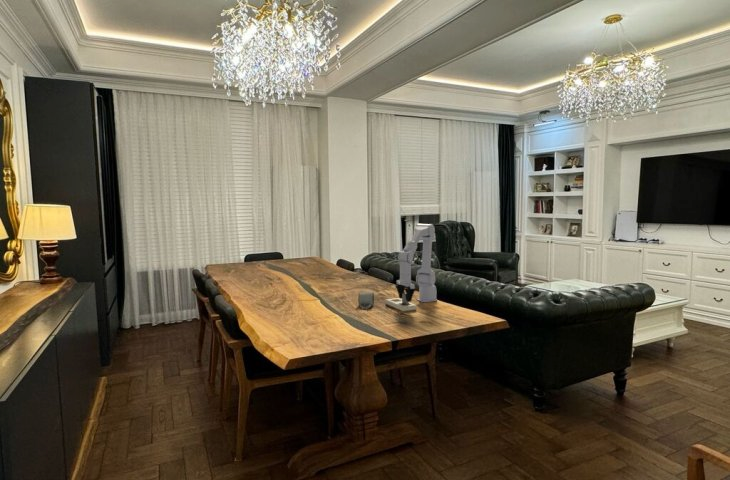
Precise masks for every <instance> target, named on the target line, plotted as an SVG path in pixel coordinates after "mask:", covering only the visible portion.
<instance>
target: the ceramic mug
mask: <svg viewBox="0 0 730 480" xmlns="http://www.w3.org/2000/svg"><path fill="white" fill-rule="evenodd" d="M357 297H358V298H357V302H358V306H359V307H360V309H363V310H367V309H368V310H369V308H371V307H374V306H375V293H374V292H373V291H370V292H369V291H368V292H367V291H366V292H360V293H358V296H357Z"/></svg>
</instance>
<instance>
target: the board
mask: <svg viewBox="0 0 730 480" xmlns="http://www.w3.org/2000/svg"><path fill="white" fill-rule="evenodd" d="M385 305H386V306H388V307H389V308H392V309H394V310H397V311H398V312H400V313H403V314H404V313H411V312H416V311H417V305H416V304H415V303H412V302H411V301H409V305H405V306H403V305H402V298H399V297H395V298H388V299H387V298H386V299H385Z"/></svg>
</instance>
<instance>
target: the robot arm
mask: <svg viewBox="0 0 730 480" xmlns="http://www.w3.org/2000/svg"><path fill="white" fill-rule="evenodd" d="M435 230H436V228H435V226H434V224H433V223H429V224H428V223H416V224H415V226H414V234H413V236H412V238H411V240H409V241H407V243H406V245H405V246H404V248H403V249H402V250H401V251H399V252H398V254H397V261H398V266H399V279H396V285H395V288H396V290H397V293H398V298H400V299H402V293H404V292H406V296H407V302H412V298H413V296H414V294H415V292H416V286H415V284H414V283H412V262H413V261H414V255H415V253H416V250H417V248H418V244H419V242H420V240H422V256H421V268H419V269H418V270H417V271H416V276H415V281H416V283H417V285H418V287H419V289H418V293H419V294H418V298H416V299H415V300H416V301H419V302H422V303H430V302H437V301H438V299H437V291H438V290H437V286H436V285H435V283H436V272H435V271H434V269H432V268H431V266H432V251H433V249H432V248H433V247H432V246H433V239H435Z"/></svg>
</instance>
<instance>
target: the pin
mask: <svg viewBox="0 0 730 480" xmlns="http://www.w3.org/2000/svg"><path fill="white" fill-rule="evenodd" d="M401 299H402V305H403V306H405V305H409V302H410V301H409V302H407V296H406V291H404V293H402V298H401Z"/></svg>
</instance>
